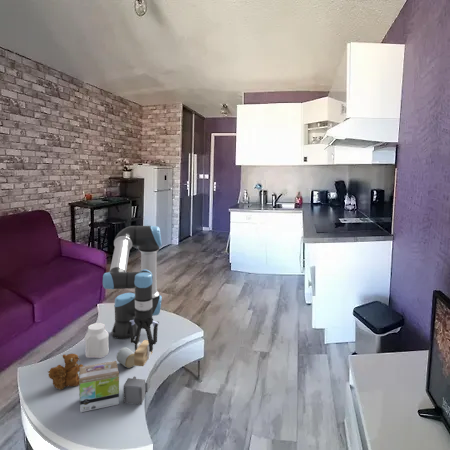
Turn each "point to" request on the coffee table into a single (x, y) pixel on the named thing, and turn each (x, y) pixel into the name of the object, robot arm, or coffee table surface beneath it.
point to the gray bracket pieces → (135, 390)
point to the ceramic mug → (126, 357)
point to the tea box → (98, 386)
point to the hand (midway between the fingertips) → (143, 357)
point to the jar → (96, 341)
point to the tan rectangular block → (141, 354)
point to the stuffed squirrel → (66, 372)
